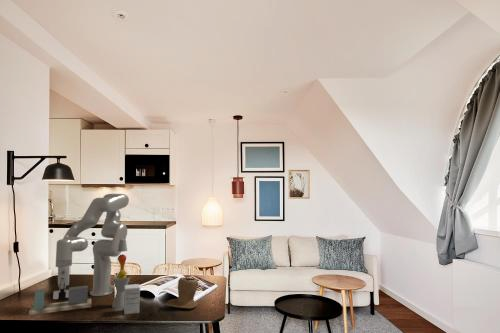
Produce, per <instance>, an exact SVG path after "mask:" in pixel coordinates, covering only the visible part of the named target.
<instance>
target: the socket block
mask: <svg viewBox="0 0 500 333" xmlns="http://www.w3.org/2000/svg"><path fill="white" fill-rule="evenodd" d="M33 301H34V302H33V303H34V304H33V306H34V310H42V309H44V306H45V304H46V302H45V301H46V289H45V288H44V289H43V288H42V289H36V291H35V293H34V300H33Z"/></svg>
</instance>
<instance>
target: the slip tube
mask: <svg viewBox="0 0 500 333" xmlns="http://www.w3.org/2000/svg"><path fill="white" fill-rule="evenodd" d="M65 292H66V299H67V298H68V299H69V289H65ZM52 293H53V294H52V299H53V300H58V298H59V290H54V291H53V292H52Z"/></svg>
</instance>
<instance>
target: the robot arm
mask: <svg viewBox="0 0 500 333" xmlns="http://www.w3.org/2000/svg"><path fill="white" fill-rule="evenodd" d="M129 203H130V198H129V196H128V195H127V194H125V193H107V194H105V195H103V197H96V198H94V199H92V201H91V203H90V204H89V206H88V208H87V209H86V211H85V213H83V214H84V215H83V216H82V218H81V219H80V220H78V221H76V223H74V224H72V225H71V227H69V228H68V230H67V231H66V232H65V234H64V236H63V238H60V239H58V240H57V241H56V249H55V250H56V251H55V268H57V287H58V288H59V290H58V291H59V298H58V299H57V300H58V301H65V300H66V299H67V298H66V292H65V290H67V287H68V286H69V285H70V272H71V271H70V267H71V266H72V264H73V253H74V252H83V251H85V250H86V249H87V248H88V246H89V242H88V239H86V238H85V237H81V236H80V237H79V235H80V234H81V233H83V232H84V231H86V230H89V229H91V228H93V227H95V226H96V225H98V223H99V221H100V218H101V217H102V215H103V213H104V212H105V213H106V216H105V218H104V221H103V225H102V228H101V231H100V235H101V236H102V237H103V238H106V239H99V240H96V241H95V242H94V243H93V246H92V252H93V254H92V255H93V282H92V284H93V285H92V290H91V291H90V292H89V295H90V296H92V297H103V296H107V295H108V296H109V295H111V294H113V292H114V290H115V289H114V285H112V284H111V277H112V276H111V275H112V273H111V272H112V260H111V258H115V257H119V256H120V255H121V253H122V252H119V251H118V247H119V242H120V239H127V235H128V227H127V225H126V224H125V223H121V222H120V220H121V215H122V214H121V211H120V210H121V209H123V208H124V209H125V208H126V207H127V206H128V205H129Z"/></svg>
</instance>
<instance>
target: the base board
mask: <svg viewBox="0 0 500 333" xmlns="http://www.w3.org/2000/svg"><path fill="white" fill-rule="evenodd" d="M92 304H93V303H92V298H88V300H87V303H85V304H77V305H69V306H68V301H61V302H60V301H59V302H52V303H45V306H44V309H42V310H34V305H31V306H30V307H29V310H28V316H32V315H33V316H34V315H41V314H48V313H49V314H50V313H56V312H63V311H71V310H79V309H80V310H81V309H87V308H92V306H93V305H92Z"/></svg>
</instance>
